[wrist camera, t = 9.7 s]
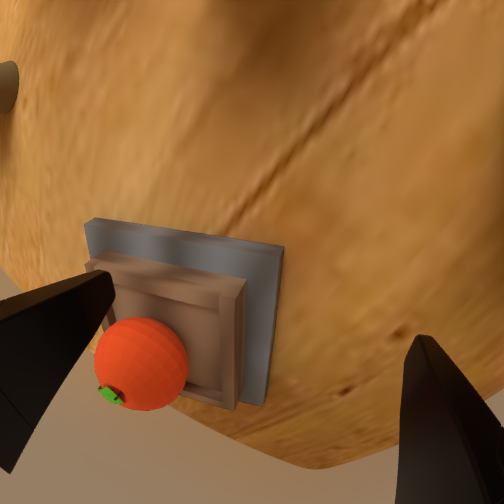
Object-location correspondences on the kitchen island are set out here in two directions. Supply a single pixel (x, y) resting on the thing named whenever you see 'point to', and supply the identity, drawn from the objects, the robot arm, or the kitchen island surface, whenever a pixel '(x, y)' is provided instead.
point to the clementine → (140, 364)
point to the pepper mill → (8, 85)
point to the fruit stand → (197, 301)
